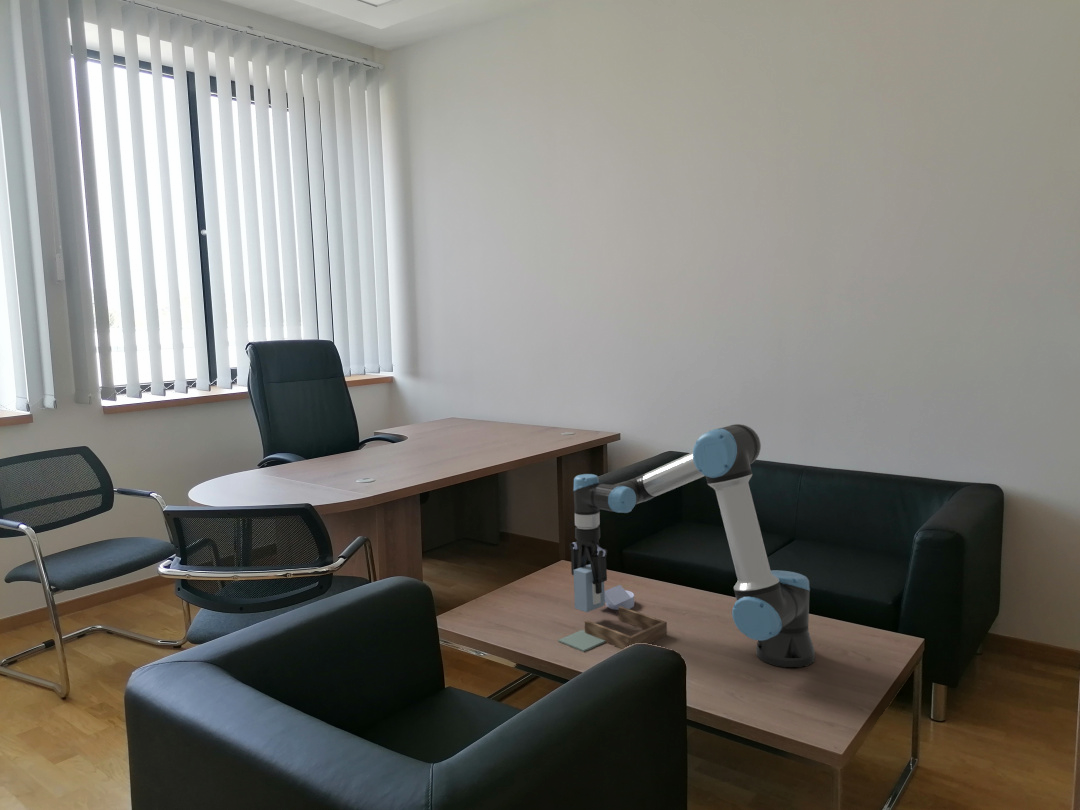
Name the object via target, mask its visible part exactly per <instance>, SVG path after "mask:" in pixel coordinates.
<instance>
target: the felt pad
mask: <svg viewBox="0 0 1080 810" xmlns="http://www.w3.org/2000/svg"><path fill="white" fill-rule="evenodd" d="M557 641H558V642H559V643H560V644H563V645H565V646H568V647H570V648H573V649H575V650H578V651H581V652H582V653H584V652H586V651H590V650H592V649H593V648H595V647H598V646H600V645H603V644H605V643H606V642H605V640H603V639H600V638H597V637H595V636H592V635H590V634H587V633H585V629H580V630H579V631H576V632H574V633H572V634H569V635H566V636H565V637H562V638H559V639H558V640H557Z"/></svg>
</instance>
